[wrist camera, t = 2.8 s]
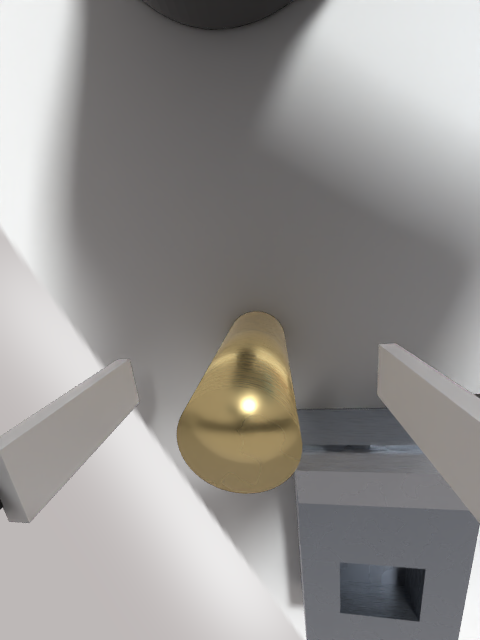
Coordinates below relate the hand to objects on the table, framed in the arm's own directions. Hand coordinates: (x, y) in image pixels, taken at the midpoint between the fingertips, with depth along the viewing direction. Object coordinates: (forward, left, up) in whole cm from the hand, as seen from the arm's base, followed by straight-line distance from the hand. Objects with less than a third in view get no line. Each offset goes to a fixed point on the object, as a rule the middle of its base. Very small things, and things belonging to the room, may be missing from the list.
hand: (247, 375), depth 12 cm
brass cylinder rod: (0, 0, -5) cm, 5 cm away
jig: (+16, +8, -5) cm, 18 cm away
